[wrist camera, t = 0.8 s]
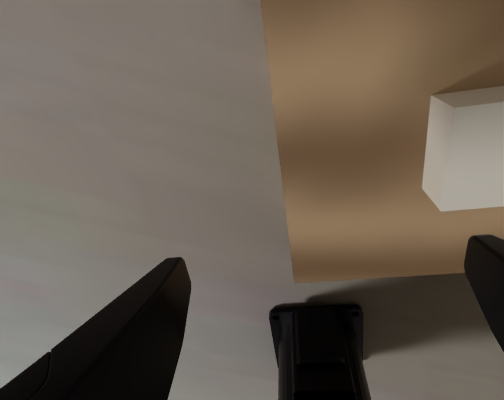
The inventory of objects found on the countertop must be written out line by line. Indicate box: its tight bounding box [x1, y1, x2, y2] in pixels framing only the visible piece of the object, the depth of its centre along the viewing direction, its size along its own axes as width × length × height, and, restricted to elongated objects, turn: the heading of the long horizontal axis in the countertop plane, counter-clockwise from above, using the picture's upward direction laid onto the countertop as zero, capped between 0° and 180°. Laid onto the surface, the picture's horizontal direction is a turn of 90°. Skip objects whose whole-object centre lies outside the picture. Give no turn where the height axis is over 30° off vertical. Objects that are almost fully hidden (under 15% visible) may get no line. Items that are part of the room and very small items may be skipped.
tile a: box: [422, 86, 504, 212], centre depth 13 cm, size 4×4×2 cm
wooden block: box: [261, 0, 504, 283], centre depth 15 cm, size 14×16×4 cm
